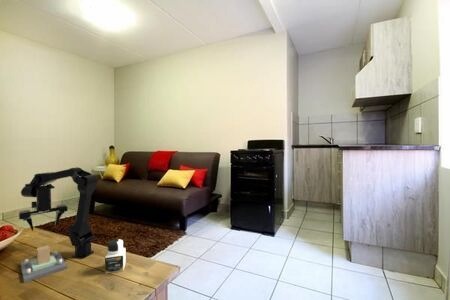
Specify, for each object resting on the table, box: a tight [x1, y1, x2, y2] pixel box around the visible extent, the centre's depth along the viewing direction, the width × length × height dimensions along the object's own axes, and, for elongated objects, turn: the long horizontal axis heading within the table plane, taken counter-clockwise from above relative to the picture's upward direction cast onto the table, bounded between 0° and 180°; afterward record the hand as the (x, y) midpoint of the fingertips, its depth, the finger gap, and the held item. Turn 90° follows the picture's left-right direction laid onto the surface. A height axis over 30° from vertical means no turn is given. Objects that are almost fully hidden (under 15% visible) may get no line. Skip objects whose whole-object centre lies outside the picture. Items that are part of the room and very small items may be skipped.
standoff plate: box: [20, 250, 68, 283], centre depth 98 cm, size 18×14×3 cm
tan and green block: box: [31, 245, 57, 271], centre depth 98 cm, size 8×8×7 cm
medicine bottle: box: [104, 238, 127, 274], centre depth 97 cm, size 7×7×12 cm
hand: (44, 228), depth 112 cm, fingers open, 9 cm apart
